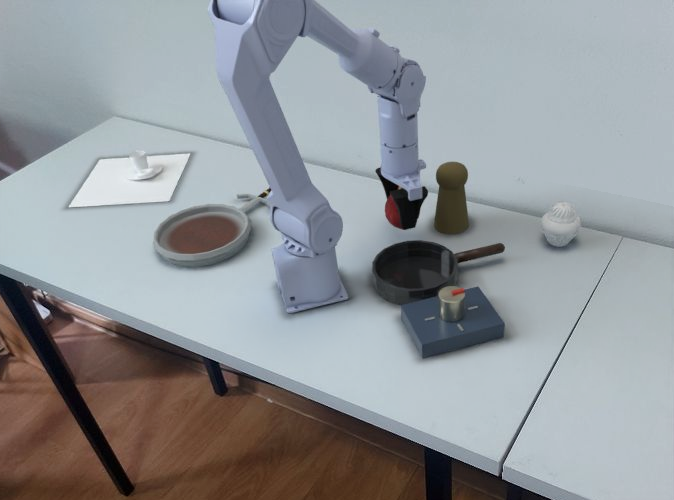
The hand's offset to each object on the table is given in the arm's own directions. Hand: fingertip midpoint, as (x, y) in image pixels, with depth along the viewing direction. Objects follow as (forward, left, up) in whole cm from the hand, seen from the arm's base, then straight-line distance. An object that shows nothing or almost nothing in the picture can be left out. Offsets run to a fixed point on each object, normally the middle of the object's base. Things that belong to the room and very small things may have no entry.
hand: (402, 218), depth 108 cm
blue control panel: (-1, -24, -4) cm, 24 cm away
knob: (-1, -24, -1) cm, 24 cm away
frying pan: (-28, +16, -4) cm, 33 cm away
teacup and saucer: (-44, +42, -4) cm, 61 cm away
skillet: (-2, -12, -4) cm, 12 cm away
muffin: (+23, -11, -4) cm, 26 cm away
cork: (+9, +1, -4) cm, 10 cm away
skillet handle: (+8, -11, -3) cm, 15 cm away
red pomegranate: (0, 0, -2) cm, 2 cm away
